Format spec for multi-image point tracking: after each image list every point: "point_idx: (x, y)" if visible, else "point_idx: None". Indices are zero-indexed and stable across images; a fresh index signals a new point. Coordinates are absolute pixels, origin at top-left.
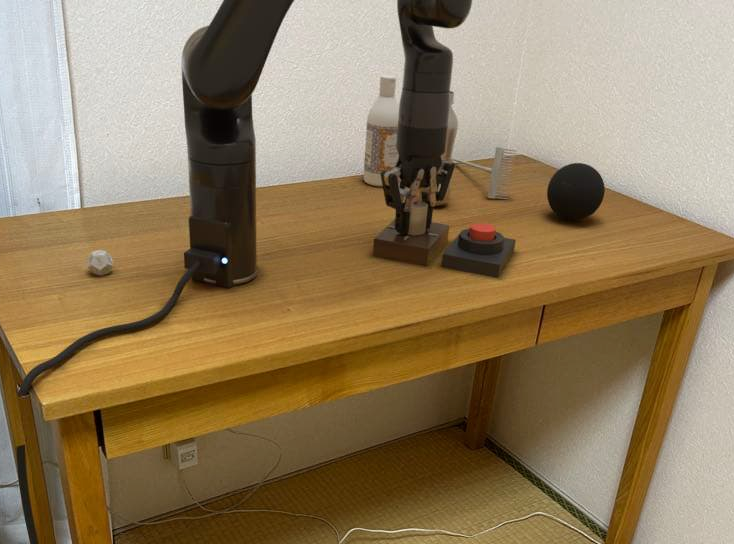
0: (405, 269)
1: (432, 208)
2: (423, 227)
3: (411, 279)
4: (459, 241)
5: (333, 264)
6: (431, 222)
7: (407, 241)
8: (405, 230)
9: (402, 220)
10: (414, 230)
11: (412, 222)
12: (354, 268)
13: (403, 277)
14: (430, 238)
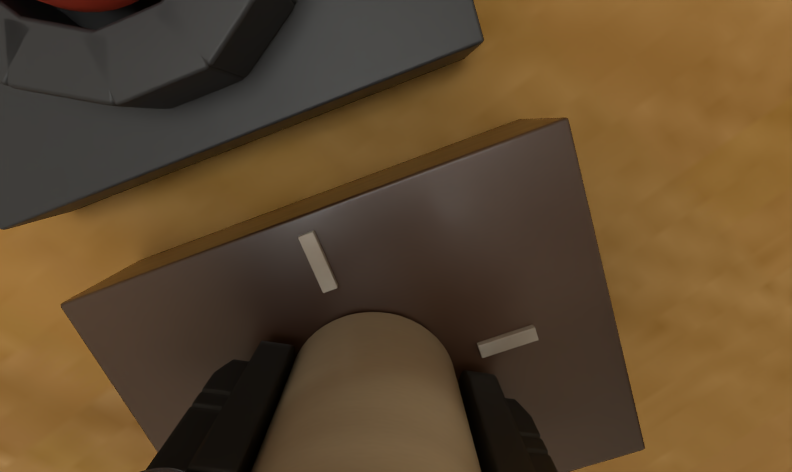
0: (626, 179)
1: (162, 460)
2: (368, 337)
3: (730, 69)
4: (251, 47)
5: (778, 424)
6: (138, 405)
7: (550, 301)
8: (499, 387)
9: (540, 466)
10: (439, 354)
11: (458, 410)
12: (766, 345)
13: (730, 118)
14: (386, 234)
